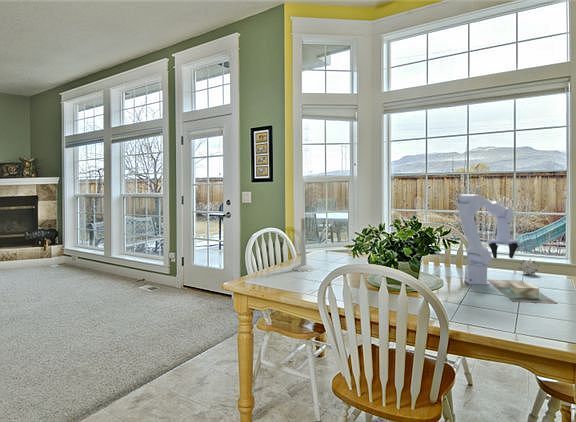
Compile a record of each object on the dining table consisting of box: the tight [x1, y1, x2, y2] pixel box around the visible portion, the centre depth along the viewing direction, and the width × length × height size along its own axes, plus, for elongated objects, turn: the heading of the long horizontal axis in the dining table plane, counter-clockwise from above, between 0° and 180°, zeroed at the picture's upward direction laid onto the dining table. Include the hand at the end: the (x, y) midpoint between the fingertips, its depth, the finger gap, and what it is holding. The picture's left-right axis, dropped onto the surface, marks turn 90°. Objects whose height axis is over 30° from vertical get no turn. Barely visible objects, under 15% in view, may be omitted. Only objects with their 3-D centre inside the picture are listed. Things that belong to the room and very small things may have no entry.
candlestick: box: [292, 218, 316, 272], centre depth 210 cm, size 13×13×30 cm
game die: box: [518, 258, 540, 276], centre depth 189 cm, size 9×8×10 cm
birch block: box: [510, 282, 540, 298], centre depth 156 cm, size 8×8×4 cm
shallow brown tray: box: [487, 278, 558, 304], centre depth 162 cm, size 16×34×1 cm, turn 168°
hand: (502, 258), depth 182 cm, fingers open, 7 cm apart
